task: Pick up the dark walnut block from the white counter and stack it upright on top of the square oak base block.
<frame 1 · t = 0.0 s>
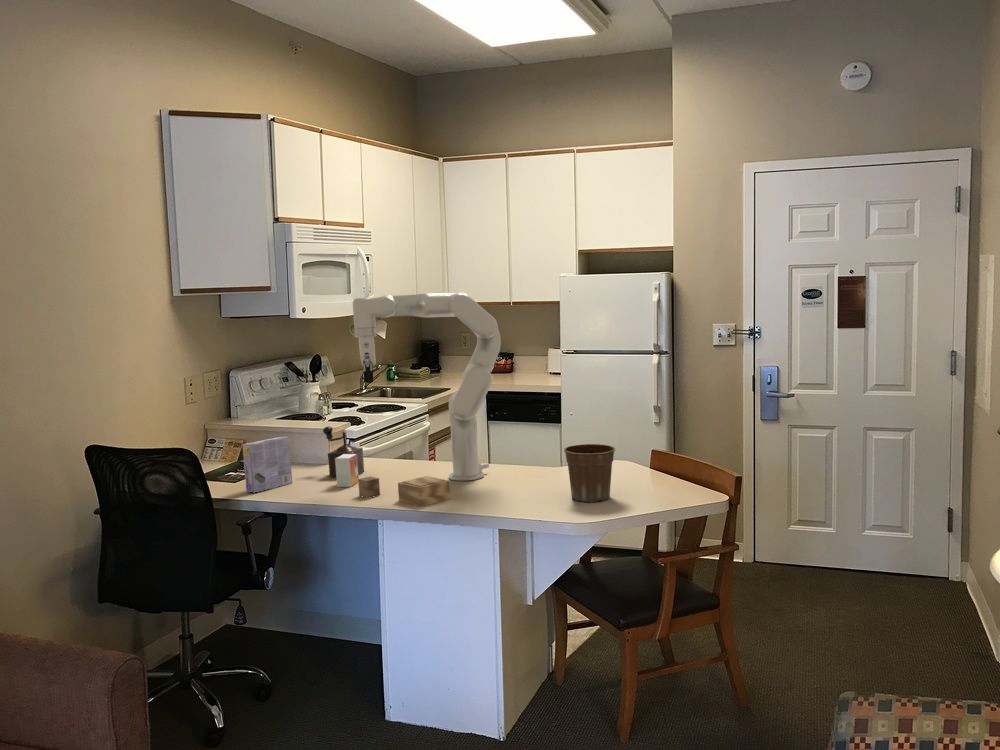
hand: (368, 381, 322), 37 cm above the worktop, tool pointing down, fingers open, 9 cm apart
cake pan box: (270, 488, 329), on the worktop
plant pot: (591, 498, 291), on the worktop
walnut block: (369, 495, 309), on the worktop
manual coffee grinder: (341, 475, 346), on the worktop
small box: (348, 485, 328), on the worktop
oak base: (424, 499, 300), on the worktop
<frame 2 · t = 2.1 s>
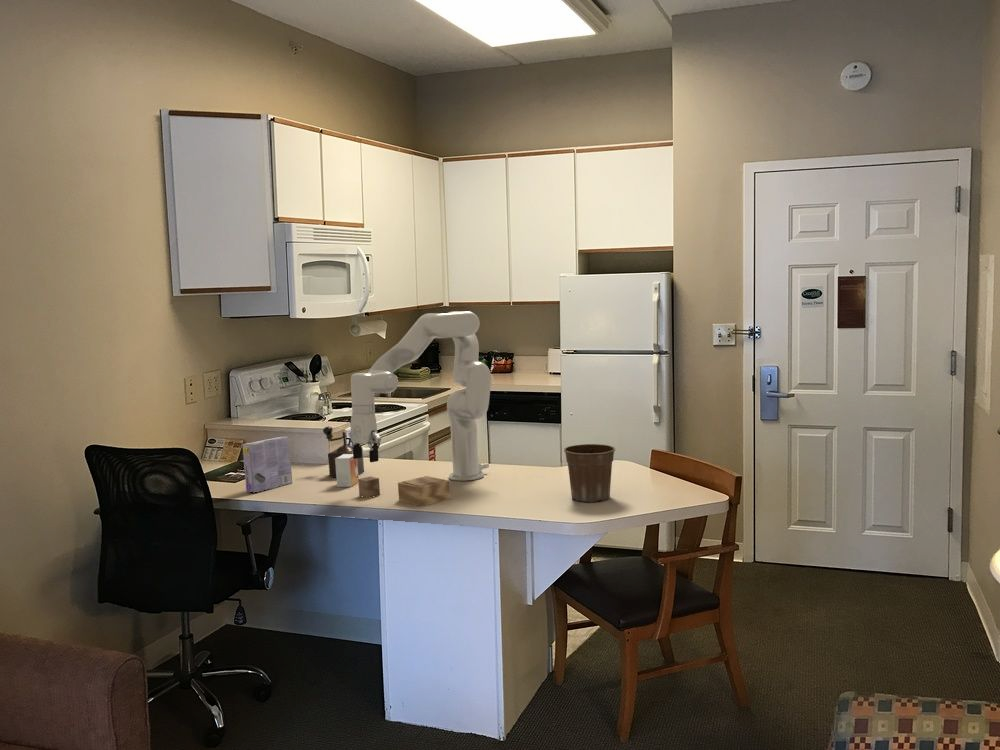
hand: (365, 459, 307), 12 cm above the worktop, tool pointing down, fingers open, 9 cm apart
nothing on the worktop moved.
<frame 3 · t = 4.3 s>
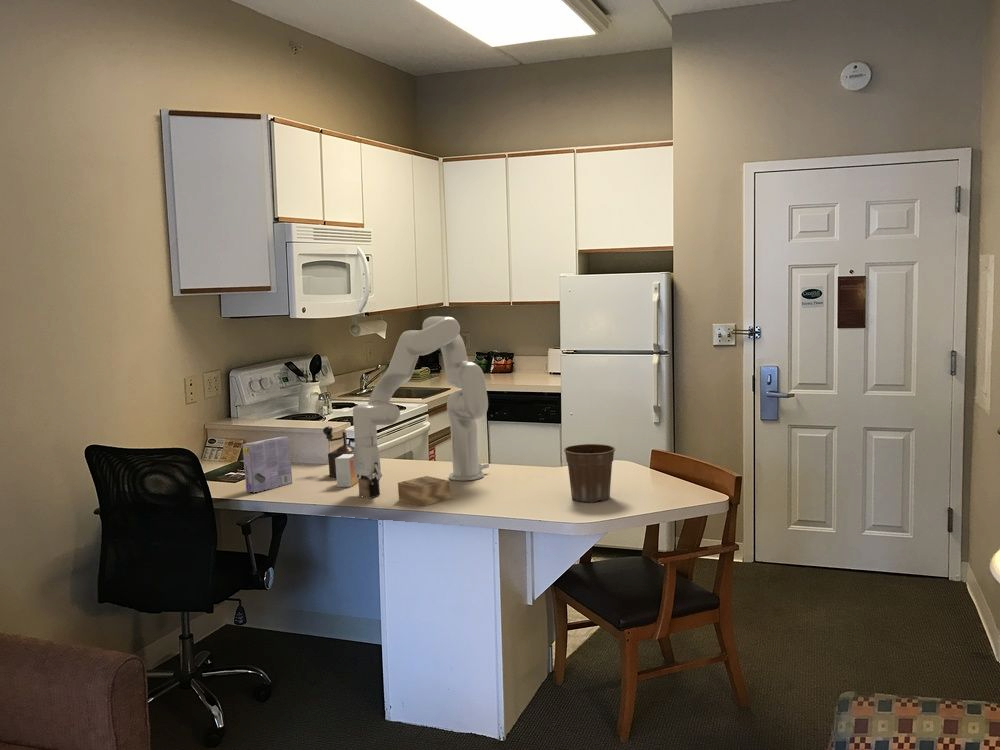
hand: (369, 493, 309), 1 cm above the worktop, tool pointing down, fingers closed on walnut block, 5 cm apart
walnut block: (369, 495, 309), on the worktop, touching gripper
everything else where it was.
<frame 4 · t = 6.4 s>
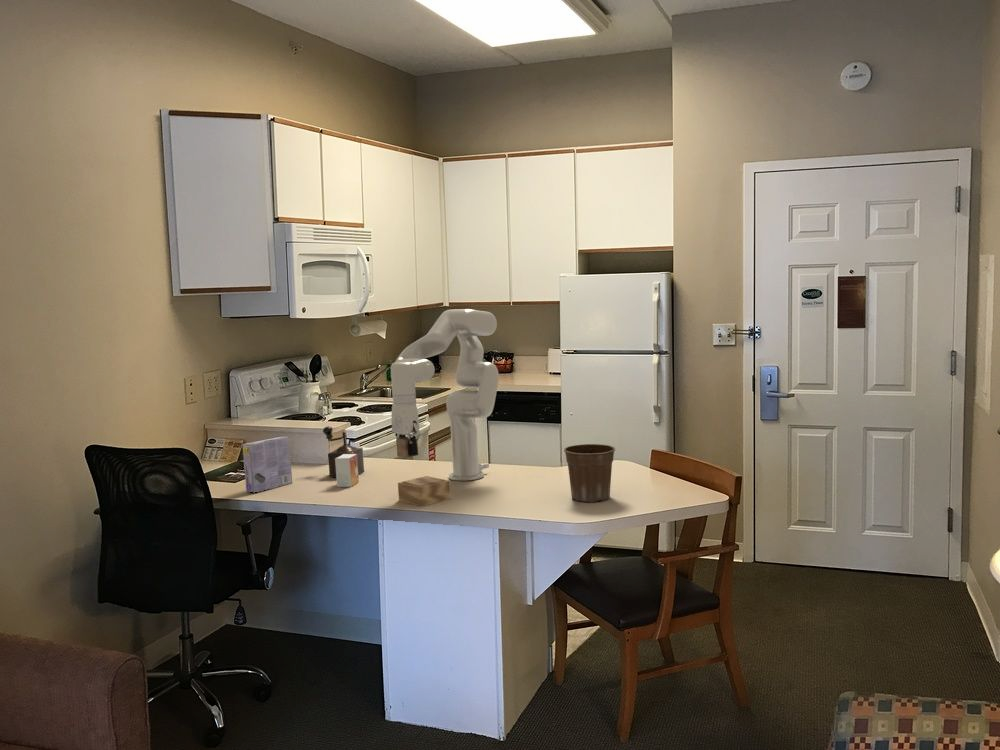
hand: (408, 453, 300), 15 cm above the worktop, tool pointing down, fingers closed on walnut block, 5 cm apart
walnut block: (407, 455, 300), point 14 cm above the worktop, touching gripper
everything else where it was.
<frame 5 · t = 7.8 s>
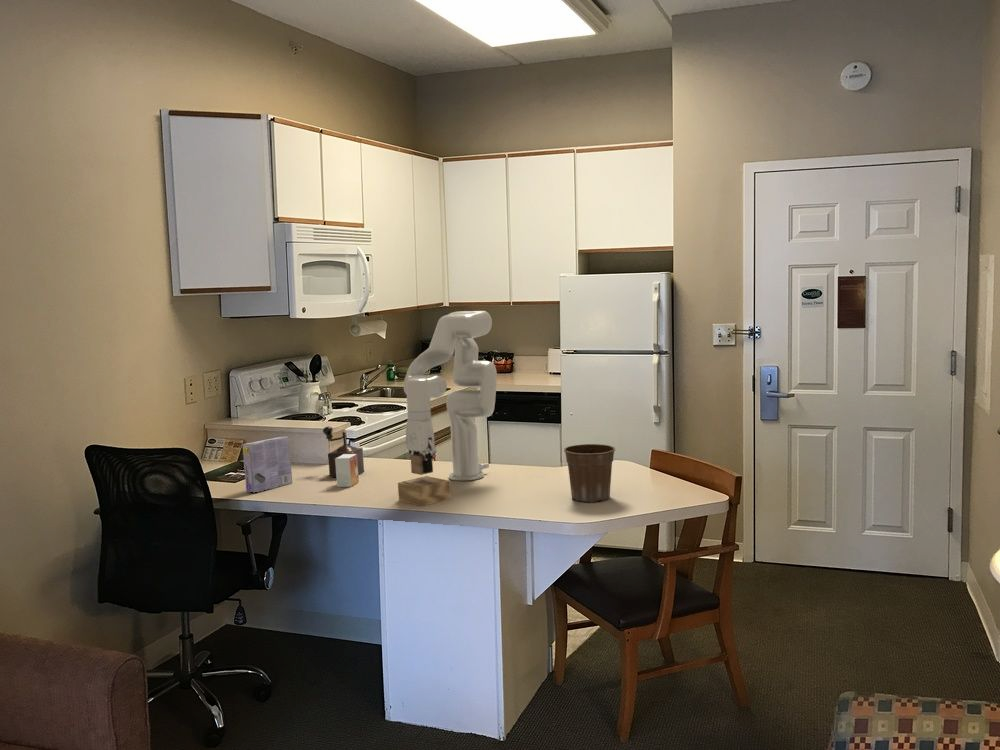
hand: (422, 470, 298), 10 cm above the worktop, tool pointing down, fingers closed on walnut block, 5 cm apart
walnut block: (422, 472, 298), point 9 cm above the worktop, touching gripper
everything else where it was.
when the fingers open (8 cm above the worktop, at t = 8.9 s): walnut block drops 1 cm, resting on oak base.
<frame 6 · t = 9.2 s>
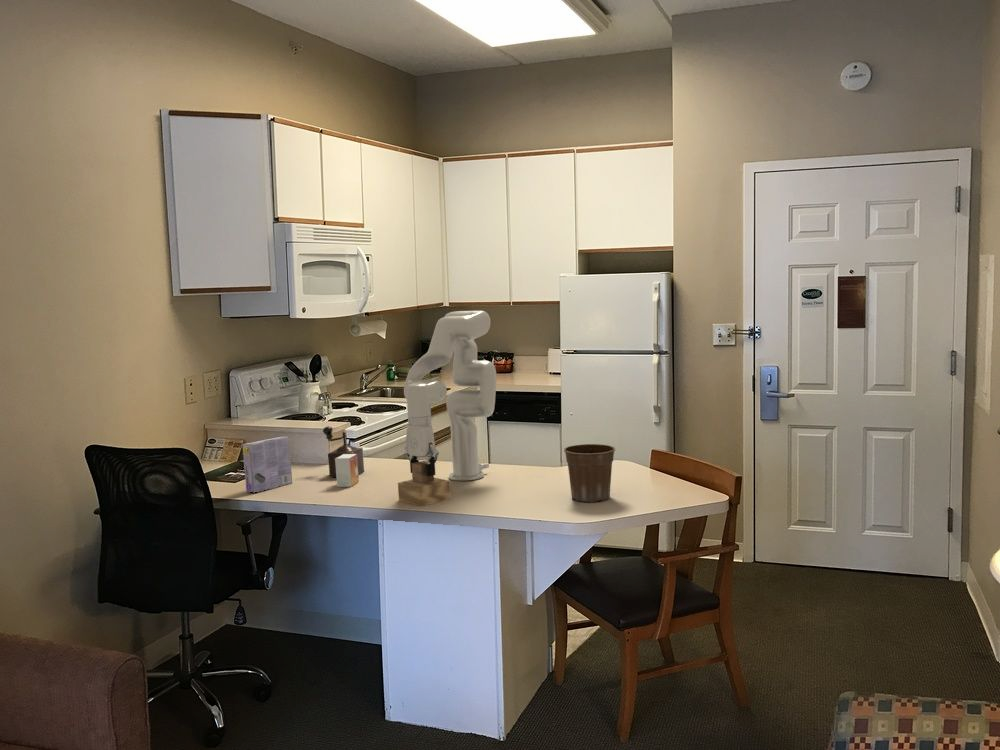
hand: (422, 473, 299), 9 cm above the worktop, tool pointing down, fingers open, 8 cm apart
walnut block: (423, 480, 299), point 6 cm above the worktop, touching oak base
everything else where it was.
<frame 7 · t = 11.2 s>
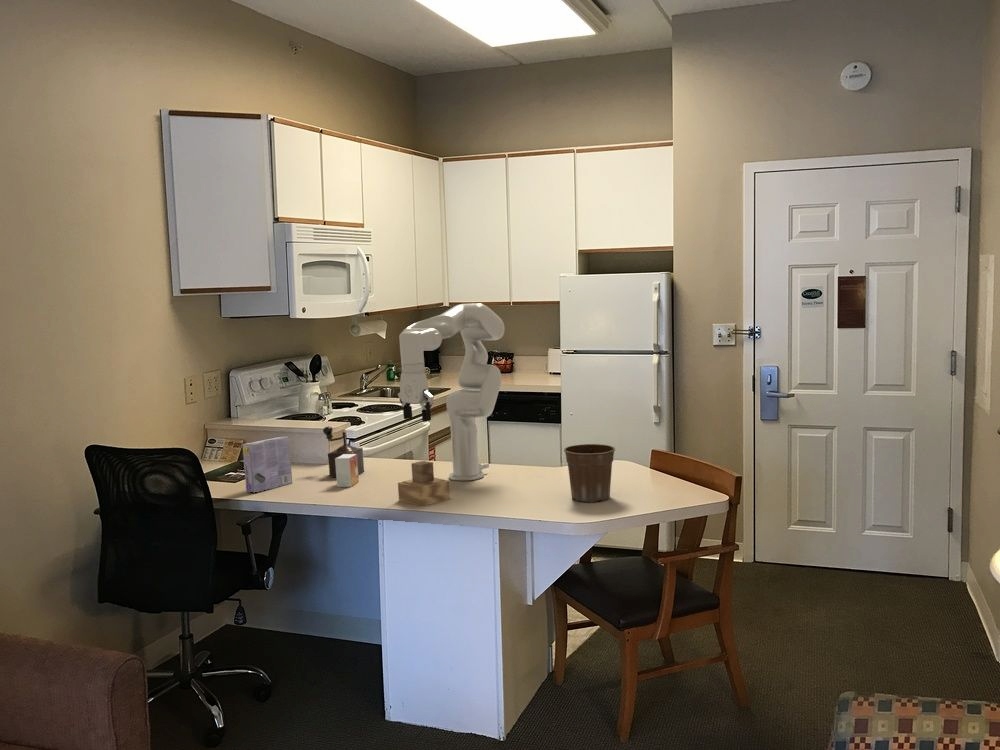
hand: (417, 419, 302), 26 cm above the worktop, tool pointing down, fingers open, 9 cm apart
nothing on the worktop moved.
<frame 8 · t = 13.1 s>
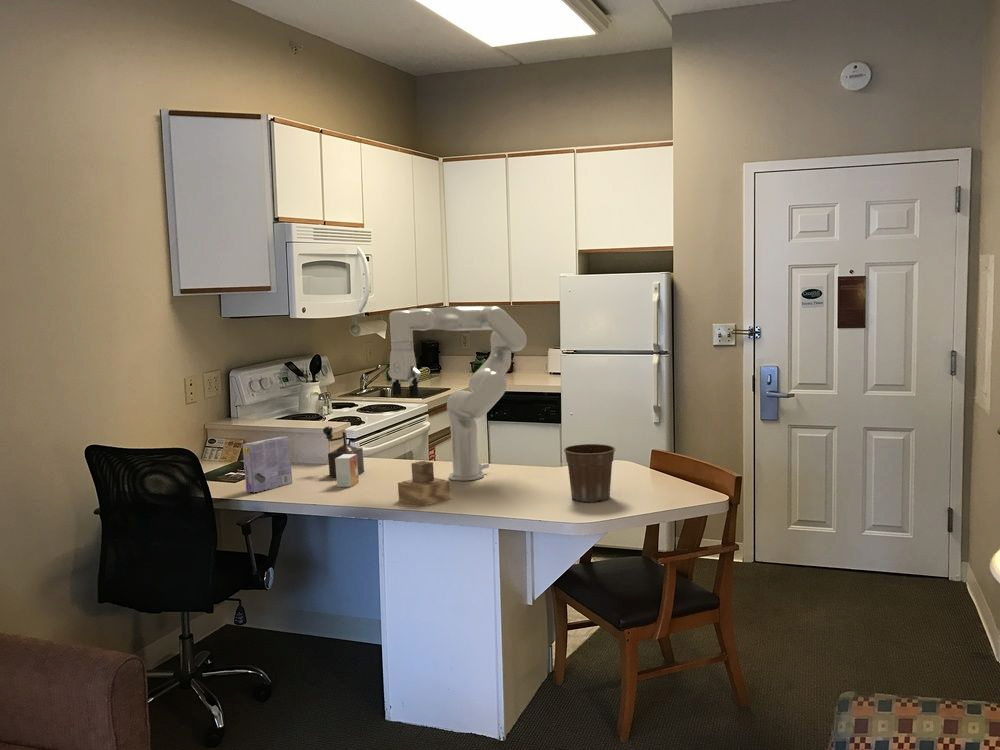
hand: (405, 395, 315), 32 cm above the worktop, tool pointing down, fingers open, 9 cm apart
nothing on the worktop moved.
at the end: walnut block inside the target area on the oak base (0.0 cm from its centre), point 6.3 cm above the oak base's base; walnut block tilted 0°; the gripper is holding nothing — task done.
